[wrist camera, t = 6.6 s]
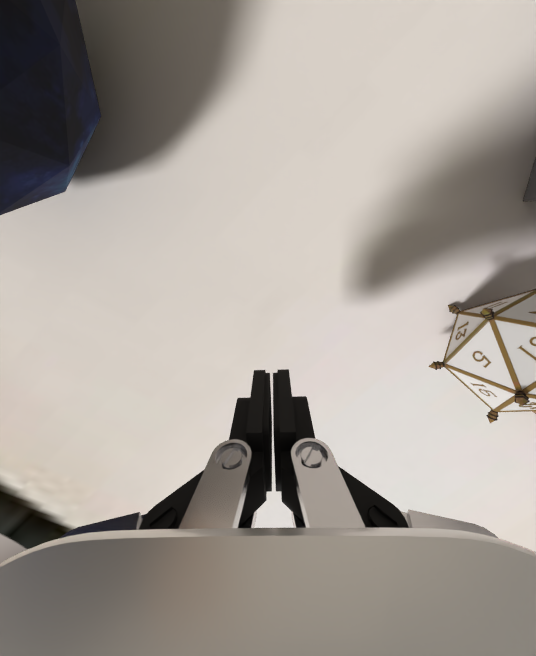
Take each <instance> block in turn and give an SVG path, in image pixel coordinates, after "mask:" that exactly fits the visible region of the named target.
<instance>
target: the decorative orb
mask: <svg viewBox="0 0 536 656" xmlns="http://www.w3.org/2000/svg"><path fill="white" fill-rule="evenodd" d="M100 118H101V114H100V109H99V105H98V100H97V96H96V91H95V87H94V83H93V78H92V74H91V69H90V65H89V60H88V56H87V51H86V47H85V42H84V38H83V33H82V29H81V24H80V20H79V15H78V11H77V6H76V2H75V0H0V215H2V214H5V213H7V212H10V211H13V210H16V209H18V208H21V207H24V206H27V205H29V204H32V203H35V202H38V201H40V200H43V199H46V198H49V197H51V196H54V195H57V194H60V193H62V192H65V191H66V189H67V187H68V185H69V182H70V180H71V178H72V176H73V174H74V172H75V170H76V168H77V166H78V164H79V162H80V159H81V157H82V155H83V153H84V151H85V149H86V147H87V145H88V143H89V141H90V138H91V136H92V134H93V132H94V130H95V128H96V126H97V124H98V122H99V120H100Z"/></svg>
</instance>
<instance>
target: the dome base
mask: <svg viewBox="0 0 536 656" xmlns="http://www.w3.org/2000/svg"><path fill="white" fill-rule="evenodd" d="M523 201H536V159H535V162H534V166H533V169H532V173H531V176H530V179H529V183H528V186H527V190H526V193H525V196H524V200H523Z"/></svg>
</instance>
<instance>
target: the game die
mask: <svg viewBox="0 0 536 656" xmlns="http://www.w3.org/2000/svg"><path fill="white" fill-rule="evenodd" d="M448 307H449V310H450V311H449V312H452V313H455V314H457V317H456V320H455V323H454V327H453V330H452V333H451V337H450V340H449V343H448V347H447V350H446V353H445V357H444V360H443V362H439V361H437V362H433V363H432V364H431V365H430V366H429V367H431V368H434V369H436V370H437V369H441V368H442V367H445V368H446V369H447V370H449V371H450V372H451V373H452V374H453V375H454V376H455V377H456V378H457V379H459V380H460V381H461V382H462V383H463V384H464V385H465V386H466V387H467V388H468V389H470V390H471V391H472V392H473V393H474V394H475V395H476V396H477V397H478V398H480V399H481V400H482V401H483V402H484V403H485V404H486V405H487V406H488V407H490V408H491V411H490V412H488V413H489V414H488V415H487V417H488V419H489V422H490V423H491V422H493V421H495V420H497V417H498V412H519V411H536V289H534V290H531V291H527V292H524V293H520V294H517V295H514V296H510V297H507V298H503V299H500V300H496V301H493V302H490V303H486V304H483V305H479V306H476V307H473V308H469V309H466V310H462V311H460V310H459V308H457V307H456V306H450V305H448Z"/></svg>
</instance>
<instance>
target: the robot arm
mask: <svg viewBox="0 0 536 656" xmlns="http://www.w3.org/2000/svg"><path fill="white" fill-rule="evenodd" d="M273 409H274V453H275V478H276V491H282V502H283V503H284V504H285V505H286V506H287V507H288V508H289V509H290V510H291V512H292V520H293V525H294V528H254V526H255V521H256V512H257V511H256V510H257V509H258V508H259V507H260V506H261V505H262V504H263V503H264V502H265V501H266V491H272V415H271V391H270V373H265V370H254V375H253V382H252V390H251V398H238V399H237V403H236V408H235V413H234V418H233V423H232V428H231V433H230V437H229V440H227V441H224V442H223V443H221V444H219V445H218V446H217V447H216V448H215V449H214V451H213V452H212V454H211V456H210V459H209V461H208V463H207V465H206V468H205V470H203V471H202V472H201V473H199V474H198V475H196V476H195V477H194V478H192V479H191V480H190V481H188V482H187V483H186V484H184V485H183V486H181V487H180V488H179V489H177V490H176V491H175V492H173V493H172V494H171V495H169V496H168V497H166V498H165V499H164V500H162V501H161V502H160V503H158V504H157V505H156V506H154V507H153V508H152V509H151V510H150V511H149V512H148V513H147V514H145V515H141V514H140V512H138V513H134V514H130V515H126V516H122V517H118V518H114V519H110V520H106V521H102V522H98V523H94V524H90V525H86V526H81V527H78V528H76V529H73V530H71V531H69V532H67V533H66V534H65V535H63V536H62V537H60V538H59V539H56V540H53V541H49V542H46V543H43V544H41V545H38V546H36V547H33V548H30V549H28V550H25V551H23V552H21V553H19V554H17V555H15V556H13V557H11V558H9V559H7V560H5V561H3V562H2V563H0V656H536V552H534V551H532V550H530V549H528V548H525V547H522V546H519V545H516V544H514V543H511V542H508V541H505V540H502V539H499V538H498V537H497V536H496V535H494V534H493V533H491V532H490V531H488V530H487V529H485V528H484V527H481V526H478V525H475V524H472V523H467V522H463V521H458V520H454V519H449V518H445V517H440V516H436V515H431V514H426V513H422V512H417V511H413V510H408V513H405V512H401V511H400V510H399V509H398V508H396V507H395V506H394V505H393V504H392V503H390V502H389V501H387V500H386V499H385V498H383V497H382V496H380V495H379V494H377V493H376V492H375V491H373V490H372V489H370V488H369V487H367V486H366V485H364V484H363V483H362V482H360V481H359V480H357V479H356V478H354V477H353V476H352V475H350V474H349V473H347V472H346V471H344V470H343V469H341V468H340V467H339V466H338V465H337V463H336V461H335V458H334V456H333V454H332V452H331V450H330V448H329V447H328V446H327V445H326V444H325V443H324V442H322V441H320V440H318V439H315V435H314V431H313V426H312V421H311V416H310V411H309V406H308V401H307V397H306V396H304V397H292V394H291V385H290V377H289V370H278V373H273Z"/></svg>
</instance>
